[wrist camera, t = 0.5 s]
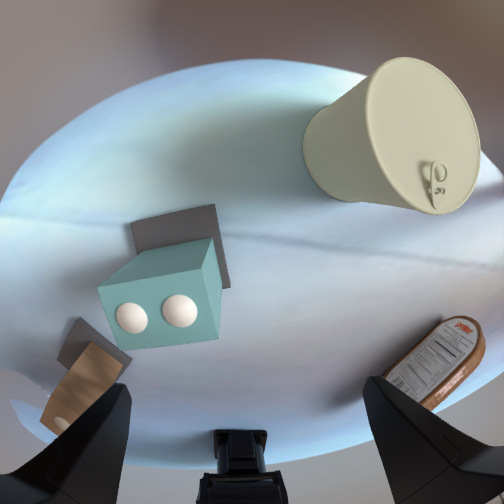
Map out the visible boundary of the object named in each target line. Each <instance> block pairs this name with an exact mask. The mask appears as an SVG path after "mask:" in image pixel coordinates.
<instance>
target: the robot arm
mask: <svg viewBox="0 0 504 504" xmlns="http://www.w3.org/2000/svg"><path fill="white" fill-rule="evenodd" d="M362 393H363V398H364V402H365V407H366V411H367V416H368V420H369V424H370V428H371V431H372V434H373V436H374V439H375V442H376V445H377V448H378V451H379V454H380V457H381V460H382V463H383V466H384V469H385V472H386V476H387V479H388V482H389V485H390V488H391V492H392V495H393V498H394V502H395V504H504V446H496V447H494V446H489V445H486V444H484V443H482V442H480V441H478V440H476V439H474V438H472V437H470V436H468V435H466V434H464V433H463V432H461V431H459V430H457V429H456V428H454V427H453V426H451V425H449V424H448V423H447V422H445V421H444V420H441V418H439V417H438V416H436V415H435V414H434V413H432V412H431V411H429V410H428V409H427V408H425V407H424V406H422V405H421V404H420V403H418V402H417V401H415V400H414V399H412V398H411V397H410V396H408V395H407V394H406V393H404V392H403V391H401V390H400V389H399V388H397V387H396V386H394V385H393V384H392V383H390V382H389V381H388V380H386V379H385V378H383V377H382V376H381V375H379V374H376V375H371V376H369V377H368V378H367V381H366V383H365V385H364V388H363V392H362ZM131 405H132V399H131V396H130V393H129V391H128V389H127V386H126V385H125V384H122V383H114V384H113V385H112V386H111V387H110V388H108V389H107V390H106V391H105V392H104V393H103V394H102V395H101V396H100V397H99V398H98V399H97V400H96V401H95V402H94V403H93V404H92V405H91V406H90V407H89V408H88V409H86V410H85V411H84V412H83V413H82V414H81V415H80V416H79V417H78V418H77V419H76V420H75V421H74V422H73V423H72V424H71V425H70V426H69V427H68V428H67V429H66V430H64V431H63V432H62V433H61V434H60V435H59V436H58V438H56V439H55V440H54V441H53V442H52V443H51V444H50V445H49V446H47V447H46V448H45V449H44V450H43V451H42V452H40V453H39V454H38V455H37V456H35V457H34V458H33V459H31V460H30V461H28V462H27V463H26V464H24V465H23V466H21V467H20V468H19V469H17V470H16V471H14V472H11V473H9V474H1V475H0V504H116V501H117V495H118V488H119V482H120V477H121V471H122V465H123V460H124V455H125V450H126V445H127V440H128V434H129V424H130V414H131ZM266 440H267V431H265V430H260V431H229V430H216V431H214V451H215V458H216V459H217V474H209V473H204V477H203V478H202V479H200V487H199V493H198V496H197V500H196V504H288V496H287V492H286V488H285V485H284V482H283V479H282V476H281V472H280V470H279V471H274V472H266V468H265V461H264V450H265V445H266Z"/></svg>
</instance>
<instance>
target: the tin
mask: <svg viewBox="0 0 504 504" xmlns="http://www.w3.org/2000/svg"><path fill="white" fill-rule="evenodd" d="M485 348H486V343H485V338H484V336H483V333H482V329H481V327H480V325H479V323H478V322H477V321H476V320H474V319H473V318H470V317H467V316H454V317H451V318H448V319H446V320H444V321H442V322H441V323H439V324H438V325H437V326H436V327H435V328H433V329H432V330H431V331H430V332H429V333H428V334H427V335H426V336H425V337H424V338H423V339H422V340H421V341H420V342H419V343H418V344H417V345H416V346H414V347H413V348H412V349H411V350H410V351H409V352H408V353H407V354H406V355H404V356H403V357H402V358H401V359H400V360H399V361H397V362H396V363H395V364H394V365H393V366H392V367H391V368H390V369H389V370H388V371H387V372H386V373H385V375H384V376H383V378H385V379H386V380H388V381H389V382H390V383H392V384H393V385H394V386H396V387H397V388H399V389H400V390H401V391H403V392H404V393H406V394H407V395H408V396H410V397H411V398H412V399H414V400H415V401H417V402H418V403H420V404H421V405H422V406H424V407H425V408H427V409H428V410H429V411H432V410H433V409H434V408H436V407H437V406H438V405H439V404H440V403H441V402H442V401H444V400H445V399H446V398H447V397H448V396H449V395H450V394H451V393H452V392H453V391H454V390H455V389H456V388H457V387H458V386H459V385H460V384H461V383H462V382H463V381H464V380H465V379H466V378H467V377H468V376H469V375H470V374H471V373H472V372H473V371H474V370H475V369H476V368H477V367H478V365H479V364H480V362H481V361H482V358H483V356H484V353H485Z"/></svg>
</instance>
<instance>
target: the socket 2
mask: <svg viewBox="0 0 504 504" xmlns="http://www.w3.org/2000/svg"><path fill="white" fill-rule="evenodd" d="M130 224H131V228H132V233H133V237H134V241H135V246H136V250H137V254H138V255H139V254H140V253H141V252H143V251H146V250H151V249H156V248H160V247H165V246H170V245H175V244H180V243H185V242H190V241H195V240H200V239H205V238H211V237H212V238H213V242H214V247H215V252H216V257H217V262H218V266H219V271H220V276H221V280H222V289H226V288H231V287H230V279H229V274H228V270H227V265H226V260H225V255H224V250H223V245H222V240H221V235H220V230H219V225H218V220H217V214H216V209H215V204H213V205H208V206H203V207H198V208H194V209H189V210H184V211H179V212H175V213H170V214H166V215H161V216H157V217H152V218H148V219H144V220H140V221H136V222H132V223H130Z"/></svg>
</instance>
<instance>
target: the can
mask: <svg viewBox="0 0 504 504" xmlns="http://www.w3.org/2000/svg"><path fill="white" fill-rule="evenodd" d="M303 155H304V160H305V163H306V166H307V169H308V171H309V173H310V175H311V177H312V178H313V180H314V181H315V182H316V184H317V185H318V186H319V187H320V188H321V189H322V190H323V191H325V192H326V193H327V194H329V195H330V196H332V197H334V198H336V199H338V200H342V201H345V202H368V203H376V204H383V205H390V206H396V207H402V208H407V209H412V210H417V211H420V212H422V213H426V214H431V215H442V214H447V213H450V212H452V211H454V210H456V209H457V208H459V207H460V206H461V205H462V204H463V203H464V202H465V201H466V200H467V199H468V197H469V196H470V194H471V193H472V191H473V189H474V187H475V184H476V181H477V178H478V174H479V169H480V159H481V151H480V140H479V134H478V130H477V126H476V122H475V120H474V117H473V114H472V112H471V110H470V108H469V106H468V104H467V102H466V100H465V99H464V97H463V95H462V94H461V92H460V91H459V89H458V88H457V87H456V86H455V84H454V83H453V82H452V81H451V80H450V79H449V78H448V77H447V76H446V75H445V74H444V73H442V72H441V71H440V70H438V69H437V68H435V67H434V66H432V65H431V64H429V63H427V62H425V61H422V60H419V59H415V58H409V57H399V58H394V59H390V60H388V61H386V62H384V63H383V64H381V65H380V66H379V67H378V68H377V69H376V70H375V71H374V72H373V73H372V74H370V75H369V76H368V77H366V78H365V79H364V80H362V81H361V82H360V83H359V84H357V85H356V86H355V87H353V88H352V89H351V90H349V91H348V92H347V93H345V94H344V95H343V96H342V97H340V98H339V99H338V100H336V101H335V102H334V103H332V104H331V105H329V106H327V107H325V108H323V109H321V110H320V111H319V112H317V113H316V114H315V115H314V116H313V118H312V119H311V120H310V122H309V124H308V126H307V128H306V131H305V134H304V139H303Z"/></svg>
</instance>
